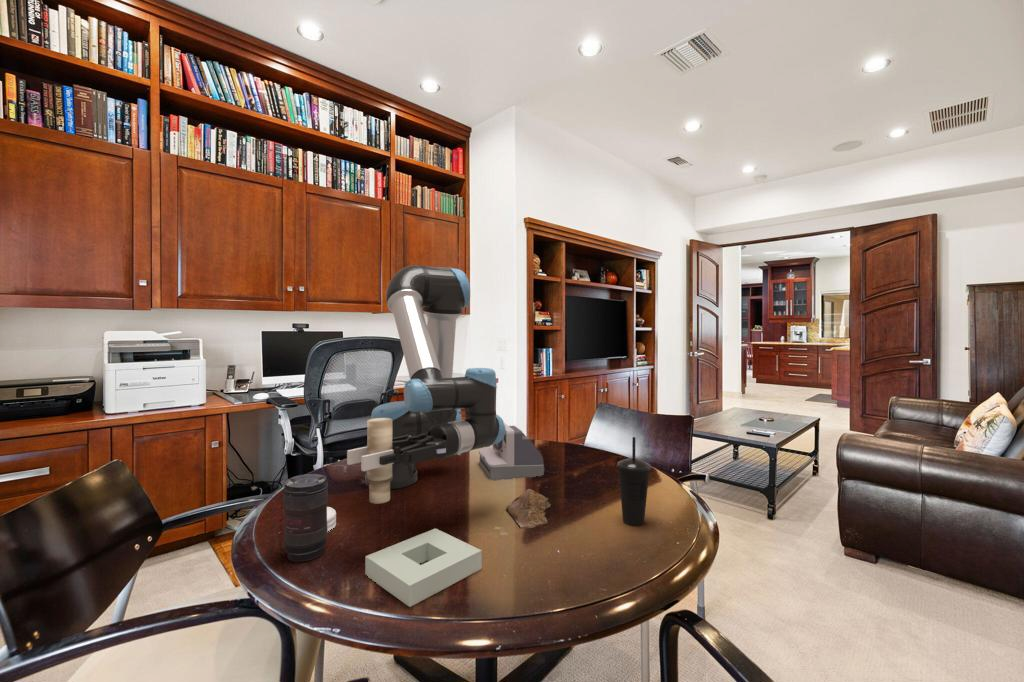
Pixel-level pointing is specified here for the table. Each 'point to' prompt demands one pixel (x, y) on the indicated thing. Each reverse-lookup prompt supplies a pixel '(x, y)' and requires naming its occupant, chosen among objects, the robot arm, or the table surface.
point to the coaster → (331, 518)
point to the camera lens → (305, 516)
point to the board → (419, 582)
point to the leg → (377, 442)
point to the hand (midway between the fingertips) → (355, 460)
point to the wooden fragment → (529, 509)
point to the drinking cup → (633, 488)
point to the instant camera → (512, 457)
